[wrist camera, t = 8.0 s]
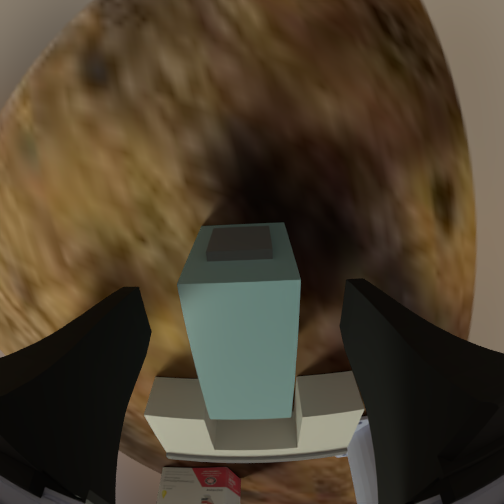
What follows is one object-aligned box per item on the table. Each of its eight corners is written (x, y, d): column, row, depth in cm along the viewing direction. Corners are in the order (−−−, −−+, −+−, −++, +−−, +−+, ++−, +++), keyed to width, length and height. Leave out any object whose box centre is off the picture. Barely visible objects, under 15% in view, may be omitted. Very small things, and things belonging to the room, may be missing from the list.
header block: (352, 370, 19) (365, 412, 15) (338, 418, 22) (345, 454, 18) (155, 376, 19) (142, 418, 16) (175, 423, 22) (168, 459, 18)
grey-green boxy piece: (283, 213, 14) (301, 268, 9) (282, 344, 18) (290, 417, 13) (201, 217, 14) (174, 273, 9) (218, 346, 18) (209, 419, 13)
